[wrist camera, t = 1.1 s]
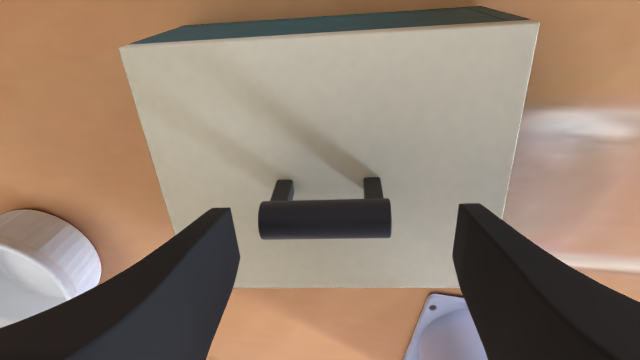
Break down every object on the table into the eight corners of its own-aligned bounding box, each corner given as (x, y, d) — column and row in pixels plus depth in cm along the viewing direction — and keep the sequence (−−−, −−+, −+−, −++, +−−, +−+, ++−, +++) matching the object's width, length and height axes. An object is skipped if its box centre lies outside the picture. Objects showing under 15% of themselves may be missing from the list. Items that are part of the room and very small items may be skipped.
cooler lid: (485, 277, 19) (515, 346, 15) (195, 279, 20) (163, 342, 17) (532, 19, 13) (597, 36, 10) (126, 44, 14) (57, 67, 11)
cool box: (457, 205, 23) (486, 267, 18) (224, 210, 25) (193, 269, 20) (482, 5, 18) (531, 19, 13) (183, 25, 19) (127, 44, 14)
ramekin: (-44, 219, 26) (-109, 260, 23) (58, 185, 24) (5, 224, 21) (40, 308, 30) (-4, 356, 26) (134, 284, 28) (101, 333, 25)
